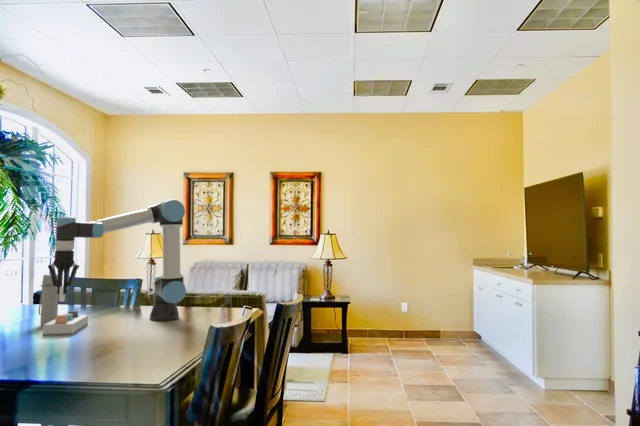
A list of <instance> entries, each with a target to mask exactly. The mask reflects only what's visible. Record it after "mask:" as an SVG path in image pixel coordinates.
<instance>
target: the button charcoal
mask: <svg viewBox="0 0 640 426" xmlns="http://www.w3.org/2000/svg"><path fill="white" fill-rule="evenodd" d="M67 314H73V317H72V318H77V317H78V315H79V310H70V311H67Z"/></svg>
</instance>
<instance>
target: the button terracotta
mask: <svg viewBox="0 0 640 426" xmlns="http://www.w3.org/2000/svg"><path fill="white" fill-rule="evenodd" d="M66 323H67V315H62V314H57V316H56V323H55V324H66Z"/></svg>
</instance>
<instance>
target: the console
mask: <svg viewBox="0 0 640 426" xmlns="http://www.w3.org/2000/svg"><path fill="white" fill-rule="evenodd" d="M88 322H89V315H88V314H85V315H83V314H82V315H79V314H78V317H77V318H72V321H67V323H66V324H55V323H56V319H54V320H52V321H50V322H48V323H46V324H44V325H43V326H42V337H49V336H50V337H54V336H55V337H56V336H58V337H59V336H73V335H74V334H76V333H78V332H79V331H81V330H83V329H84V328H86V327H87V326H88V325H89V324H88Z"/></svg>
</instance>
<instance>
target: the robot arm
mask: <svg viewBox="0 0 640 426" xmlns="http://www.w3.org/2000/svg"><path fill="white" fill-rule="evenodd" d="M185 214H186V208H185V206H184V203H183V202H181V201H179V200H177V199H173V198H172V199H166V200H164V201H161V202H159V203H156V204H153V205H149V206H147V207H146V208H145V209H140V210H136V211H135V210H134V211H132V212H126V213H122V214H118V215H113V216H108V217H105V218H101V219H96V220H92V221H77V220H76V219H77V218H75V217H74V216H72V217H71V216H70V217H69V216H60V217H58V218H57V220H56V232H55V246H54V247H55V248H54V249H55V251H54V261H53V262H52V263H51V264H48V265H47V268H48V269H49V272H50V274H51V278H52V282H53V285H54V286H57V294H58V303H59V302H62V303H63V302H65V300H66V295H67V294H68V292H69V291H68V289H69V288H68V287H69V286H72V285H73V284H74V281H75V277H76V274H77V270H78V269H79V268H80V265H79V264H77V263H75V261H74V258H75V256H74V255H75V251H74V249H75V238H83V239H84V238H85V239H87V238H89V239H97V238H98V239H99V238H103V236H104V234H108V233H111V232H116V231H121V230H126V229H128V228H131V227H132V228H133V227H136V226H141V225H144V224H149V223H150V224H157V223H158V224H159V226H160V228H162V262H163V263H162V272H163V273H162V275H161V276H156V277H155V278H154V283H153V285H154V287H153V288H154V289H153V306H152V309H151V311H150V313H149V320H151V321H156V322H157V321H158V322H160V321H161V322H164V321H165V322H166V321H174V320H178V319H179V318H180V313H179V310H178V306H177V303H179V302H181V301H182V300H183V299H184V298H185V297H186V294H187V288H186V285H185V284H184V280H185V279H184V275H183V274H182V273H181V228H182V227H183V225H184V223H183V221H184V220H183V219H184V217H185ZM55 268H56V269H57V272H56V269H55ZM71 268H72V270H71V273H70V269H71ZM69 273H70V274H69ZM56 274H57V275H58V281H57V277H56Z"/></svg>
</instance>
